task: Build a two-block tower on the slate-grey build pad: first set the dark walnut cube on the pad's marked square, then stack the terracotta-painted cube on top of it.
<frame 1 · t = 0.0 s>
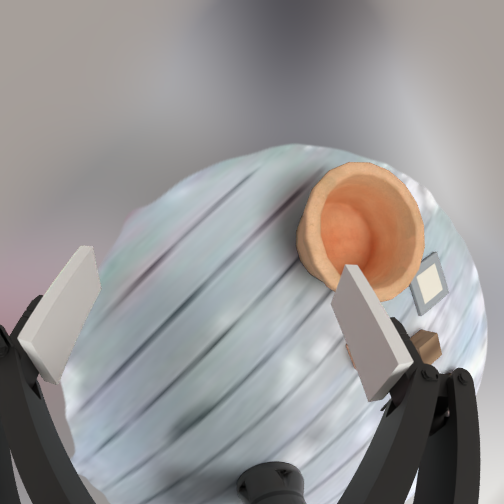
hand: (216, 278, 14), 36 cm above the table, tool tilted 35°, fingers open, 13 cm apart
walnut cube: (414, 346, 54), on the table
build pad: (427, 283, 55), on the table
pottery: (335, 241, 53), on the table
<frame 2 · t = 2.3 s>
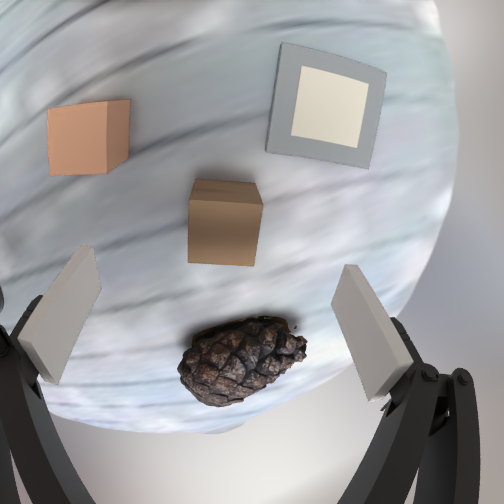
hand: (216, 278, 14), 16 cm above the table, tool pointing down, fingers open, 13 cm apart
terracotta cube: (102, 129, 23), on the table
pine cone: (238, 334, 39), on the table
walnut cube: (222, 208, 29), on the table
build pad: (327, 106, 24), on the table
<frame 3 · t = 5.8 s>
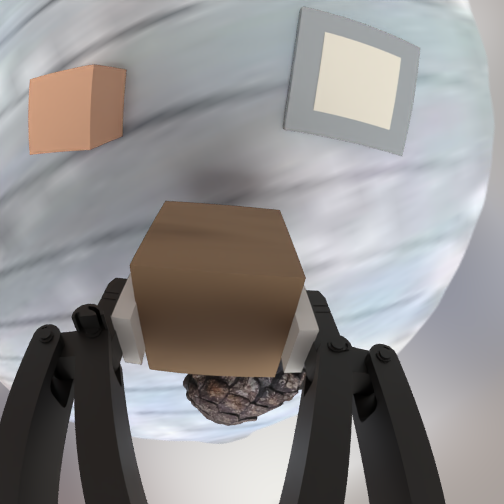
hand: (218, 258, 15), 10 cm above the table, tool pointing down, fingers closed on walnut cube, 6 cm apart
terracotta cube: (94, 105, 19), on the table
pine cone: (253, 344, 34), on the table
walnut cube: (218, 254, 16), point 10 cm above the table, touching gripper
build pad: (355, 81, 19), on the table
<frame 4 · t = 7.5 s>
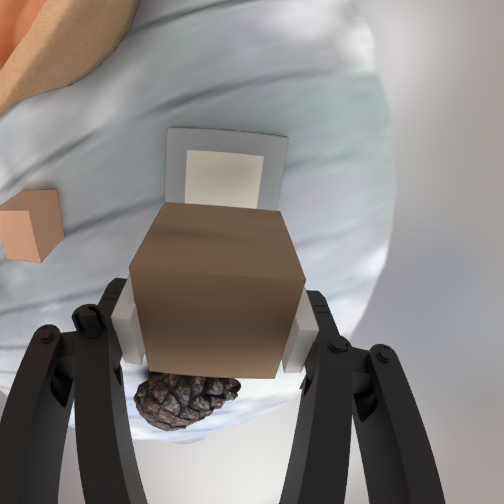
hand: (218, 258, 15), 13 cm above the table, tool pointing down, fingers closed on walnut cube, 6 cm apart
terracotta cube: (42, 212, 26), on the table
pine cone: (185, 371, 42), on the table
walnut cube: (218, 255, 16), point 13 cm above the table, touching gripper
build pad: (222, 185, 27), on the table
pottery: (69, 19, 15), on the table
when the fingers open (2 cm above the table, at t = 9.7 s): walnut cube stays where it is, resting on build pad.
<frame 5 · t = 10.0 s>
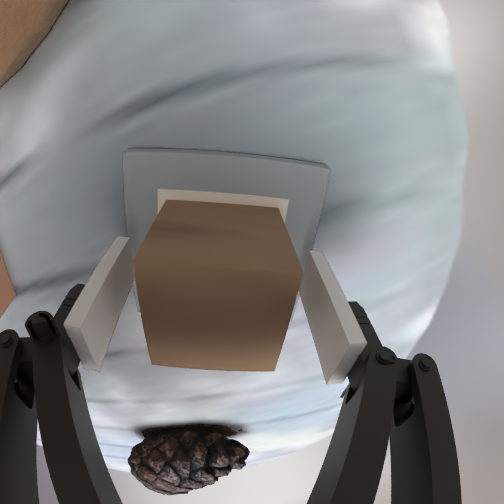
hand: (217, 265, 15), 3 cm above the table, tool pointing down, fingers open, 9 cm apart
pine cone: (184, 432, 33), on the table
walnut cube: (218, 251, 16), point 1 cm above the table, touching build pad
build pad: (219, 241, 17), on the table
pottery: (3, 0, 6), on the table
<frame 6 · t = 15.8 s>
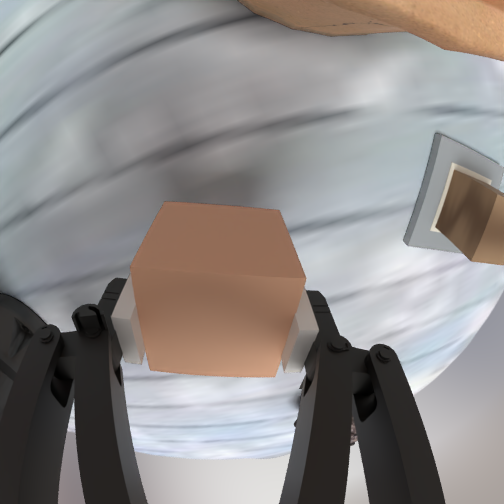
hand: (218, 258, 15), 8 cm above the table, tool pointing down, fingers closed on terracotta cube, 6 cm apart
terracotta cube: (217, 254, 16), point 7 cm above the table, touching gripper
walnut cube: (463, 204, 21), point 1 cm above the table, touching build pad
build pad: (457, 199, 22), on the table
when the fingers open (7 cm above the table, at t = 19.6 s): terracotta cube stays where it is, resting on walnut cube.
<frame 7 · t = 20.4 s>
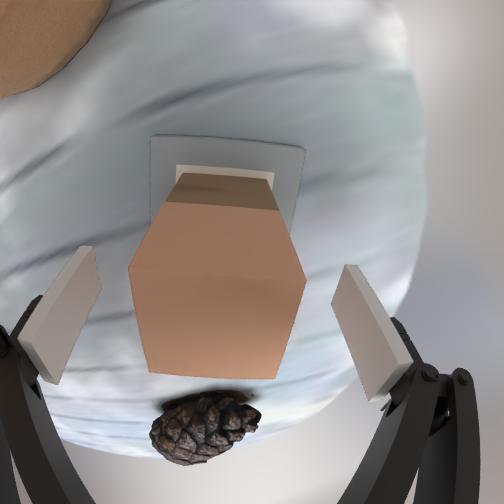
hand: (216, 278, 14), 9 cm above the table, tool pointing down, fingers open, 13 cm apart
terracotta cube: (217, 255, 16), point 7 cm above the table, touching walnut cube
pine cone: (201, 402, 38), on the table
walnut cube: (221, 213, 21), point 1 cm above the table, touching build pad, terracotta cube
build pad: (221, 207, 22), on the table
pottery: (39, 9, 10), on the table
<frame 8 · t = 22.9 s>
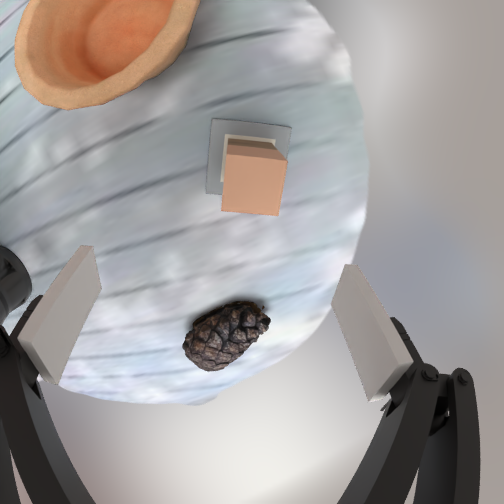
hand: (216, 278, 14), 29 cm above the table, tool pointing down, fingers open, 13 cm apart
terracotta cube: (249, 171, 33), point 7 cm above the table, touching walnut cube
pine cone: (224, 318, 55), on the table
walnut cube: (247, 160, 38), point 1 cm above the table, touching build pad, terracotta cube
build pad: (247, 158, 39), on the table
pottery: (134, 34, 27), on the table
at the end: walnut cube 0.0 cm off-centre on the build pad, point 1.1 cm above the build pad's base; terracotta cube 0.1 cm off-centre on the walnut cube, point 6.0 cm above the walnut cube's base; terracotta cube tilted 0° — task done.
